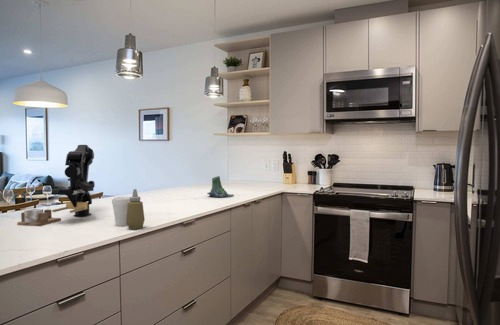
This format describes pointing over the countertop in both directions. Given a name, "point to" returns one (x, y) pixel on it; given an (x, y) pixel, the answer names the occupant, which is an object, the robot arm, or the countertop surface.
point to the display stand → (37, 217)
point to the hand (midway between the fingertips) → (76, 206)
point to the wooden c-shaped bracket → (69, 205)
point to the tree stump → (218, 189)
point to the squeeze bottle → (135, 212)
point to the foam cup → (120, 210)
